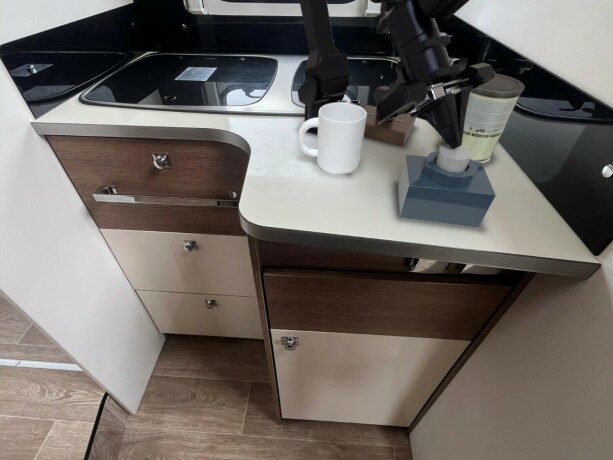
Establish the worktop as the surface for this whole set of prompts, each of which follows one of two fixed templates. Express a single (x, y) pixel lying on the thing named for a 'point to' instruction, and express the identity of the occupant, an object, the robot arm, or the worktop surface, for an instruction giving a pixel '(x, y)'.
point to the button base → (443, 192)
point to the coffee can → (488, 115)
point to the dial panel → (388, 127)
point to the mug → (336, 137)
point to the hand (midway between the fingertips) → (457, 147)
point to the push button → (453, 158)
